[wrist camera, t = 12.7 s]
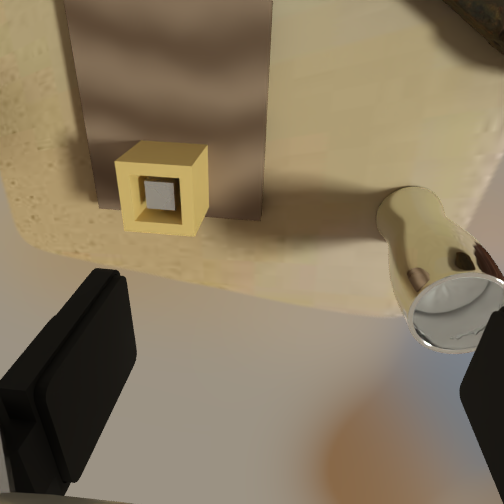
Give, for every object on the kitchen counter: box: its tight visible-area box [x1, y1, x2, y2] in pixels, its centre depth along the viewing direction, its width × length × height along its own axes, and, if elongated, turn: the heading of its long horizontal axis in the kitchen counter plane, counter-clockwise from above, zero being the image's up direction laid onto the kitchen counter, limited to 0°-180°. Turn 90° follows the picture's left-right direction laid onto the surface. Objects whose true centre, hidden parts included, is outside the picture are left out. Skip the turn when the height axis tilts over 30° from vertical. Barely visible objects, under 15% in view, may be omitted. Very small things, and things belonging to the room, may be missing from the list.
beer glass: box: [376, 187, 504, 354], centre depth 32 cm, size 7×7×15 cm
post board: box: [64, 0, 273, 221], centre depth 33 cm, size 18×16×6 cm
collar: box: [115, 140, 209, 237], centre depth 35 cm, size 6×6×6 cm
